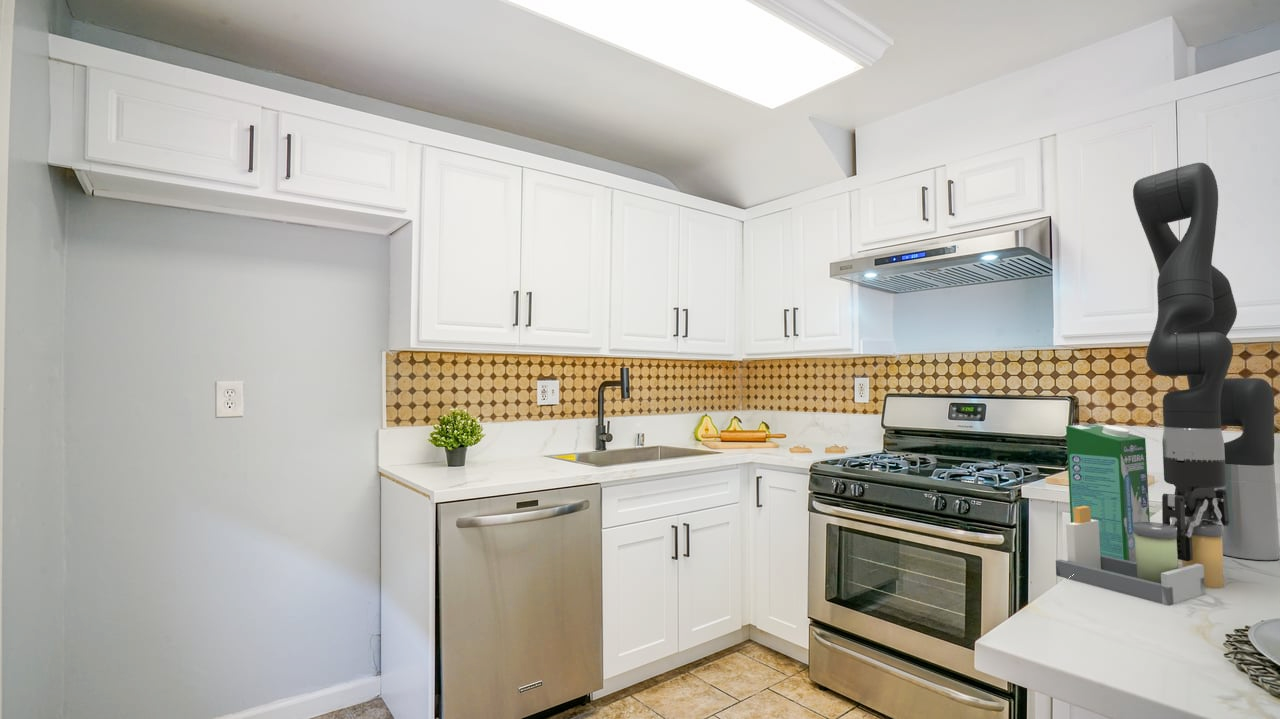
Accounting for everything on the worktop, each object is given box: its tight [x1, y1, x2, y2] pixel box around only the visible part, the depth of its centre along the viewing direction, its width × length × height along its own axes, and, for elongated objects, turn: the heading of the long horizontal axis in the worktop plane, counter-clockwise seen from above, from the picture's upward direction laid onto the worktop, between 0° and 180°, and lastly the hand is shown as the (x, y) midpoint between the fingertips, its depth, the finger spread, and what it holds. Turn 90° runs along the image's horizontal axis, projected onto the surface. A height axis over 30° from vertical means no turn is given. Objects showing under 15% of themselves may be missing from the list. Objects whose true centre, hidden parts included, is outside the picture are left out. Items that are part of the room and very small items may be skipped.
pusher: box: [1065, 506, 1101, 569], centre depth 106 cm, size 7×1×11 cm, turn 115°
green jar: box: [1133, 521, 1179, 584], centre depth 96 cm, size 5×5×10 cm
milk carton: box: [1065, 423, 1151, 562], centre depth 117 cm, size 9×9×25 cm
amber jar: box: [1181, 521, 1225, 589], centre depth 100 cm, size 5×5×10 cm
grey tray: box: [1055, 554, 1206, 606], centre depth 100 cm, size 10×16×5 cm, turn 25°
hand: (1197, 556), depth 100 cm, fingers open, 8 cm apart
